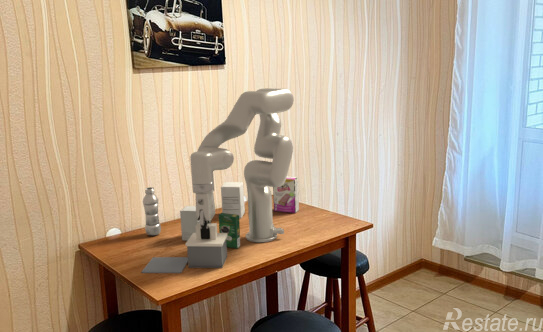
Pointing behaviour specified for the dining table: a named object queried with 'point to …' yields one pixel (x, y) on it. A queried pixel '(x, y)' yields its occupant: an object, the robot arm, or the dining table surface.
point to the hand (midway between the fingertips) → (206, 236)
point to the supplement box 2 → (233, 198)
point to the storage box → (207, 256)
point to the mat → (166, 265)
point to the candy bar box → (287, 196)
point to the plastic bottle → (151, 212)
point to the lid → (214, 240)
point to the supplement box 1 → (188, 221)
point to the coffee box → (230, 229)
